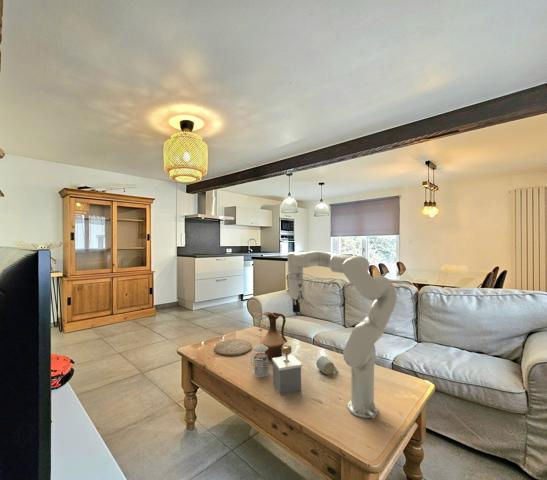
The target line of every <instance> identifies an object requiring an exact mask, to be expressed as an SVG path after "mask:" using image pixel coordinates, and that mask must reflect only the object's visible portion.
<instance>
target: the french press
mask: <svg viewBox="0 0 547 480" xmlns="http://www.w3.org/2000/svg"><path fill="white" fill-rule="evenodd" d="M258 331H259V332H262V331H263V328H259V329H258ZM267 350H268V347H267V346H265V345H263V344H258V345H256V346H254V347H253V351H255V352H257V353H254V354H252V355H251V359H250V364H251V365H252V366H253V371H252V375H253V376H254V375H255V376H254V377H256V376H257V378H265V377H268V376H269V375H270V374H271V371H270V370H269V359H268V357H267V354H265V351H267ZM253 356H254V357H253Z"/></svg>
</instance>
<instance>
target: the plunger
mask: <svg viewBox="0 0 547 480" xmlns="http://www.w3.org/2000/svg"><path fill="white" fill-rule="evenodd" d="M281 352H282V355H283V354H284V356H285V363H287V362H288V356H289V354H290V355H291V354H292V346H291V345H287V344H286V345H283V346H282V347H281Z"/></svg>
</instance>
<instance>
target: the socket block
mask: <svg viewBox="0 0 547 480" xmlns="http://www.w3.org/2000/svg"><path fill="white" fill-rule="evenodd" d="M271 361H272V384H273V385H274V388H276V389H275V390H276V391H277V392H278V394H279V395H280V396H281V395H286V394H292V393H295V392H296V393H297V392H301V391H302V367H303V365H302V363H301V362H300V361H299V360H298V358H297V357H296V356H295V355H293V354H290V355H289V354H288V362H287V363H285V355H284V356H283V355H282V357H276V358H272V360H271Z"/></svg>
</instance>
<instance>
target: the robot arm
mask: <svg viewBox="0 0 547 480" xmlns="http://www.w3.org/2000/svg"><path fill="white" fill-rule="evenodd" d="M311 267H312V268H313V267H323V268H329V269H330V271H331V272H333V273H338V274H343V275H344V276H345V278H346V279H347V280H348V281H349V282H350V283H351V285H352V286H353V287H354V288H355V290H356V291H357V292H358V293H359V294H360V295H361V296H362V297H363V298H364V299H366V300H368V301H373V302H372V303H371V305H370V307H369V309H368V312H367V314H366V316H365V317H364V319H362V320H361V321H360V322H359V323H357V324H356V325H355V326H354V328H353V329H352V330H351V333H350V335H349V337H348V340H347V342H346V344H345V346H344V348H343V352H342V353H343V354H342V355H343V356H342V357H343V360H344V361H345V364H346V365H347V366H349V367H350V368H351V369H350V370H351V371H350V373H351V374H350V375H351V377H350V379H351V380H350V381H351V382H350V383H351V384H350V387H351V388H350V390H351V391H350V392H351V393H350V394H351V397H350V398H351V399H350V400H349V401H347V409H348V411H349V412H350V413H351V414H353V415H354V416H355V417H358V418H363V419H370V418H371V419H375V418H376V416H378V414H379V411H378V406H377V405H376V404H375V387H374V385H375V360H376V347H375V346H376V345H375V344H376V343H377V342H378V341H379V340H380V339H381V338H382V336H383V335H384V334H383V333H384V331H385V328H386V327H387V325H388V323H389V321H390V318H391V316H392V313H393V312H394V309H395V308H396V307H395V306H396V303H397V292H396V291H397V290H396V288H395V286H394V284H393V283H392V281H391V280H390V279H389V278H387V277H385V276H383V275H376V276H372V275H371V274H370V273H369V272H368V271H369V270H370V263H369V260H368V259H367V258H366V257H364V256H358V255H352V254H351V255H350V254H341V253H335V252H326V251H311V250H310V251H305V252H301V251H291V252H288V253H287V273H288V274H287V275H288V276H287V278H288V279H287V280H288V295H289V297H290V299H291V301H292V312H293V313H295V314H296V313H300V312H301V306H300V305H301V303H302V302H303V300H305V298H306V294H305V283H304V268H305V269H307V268H311Z"/></svg>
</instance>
